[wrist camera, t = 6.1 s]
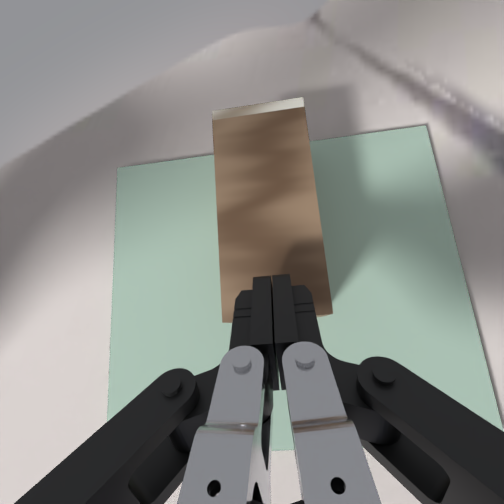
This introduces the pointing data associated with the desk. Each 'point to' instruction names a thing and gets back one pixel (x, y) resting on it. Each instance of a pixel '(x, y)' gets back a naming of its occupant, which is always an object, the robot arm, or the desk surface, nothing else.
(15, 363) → the desk surface
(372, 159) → the sage mat
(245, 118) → the walnut block
